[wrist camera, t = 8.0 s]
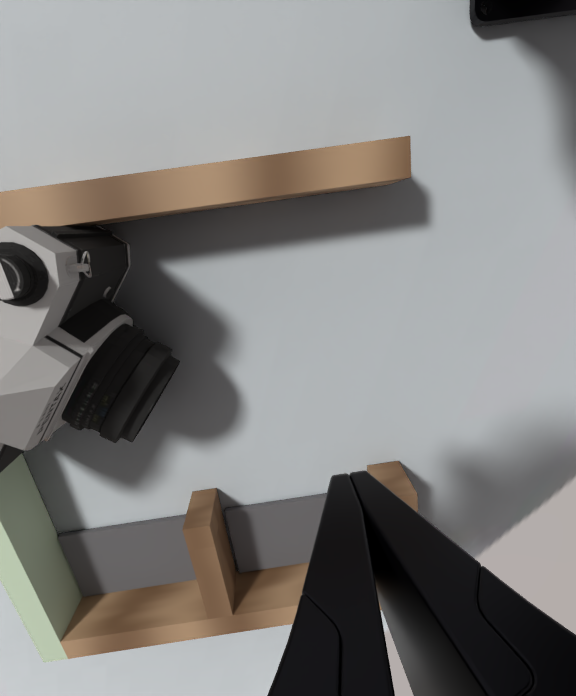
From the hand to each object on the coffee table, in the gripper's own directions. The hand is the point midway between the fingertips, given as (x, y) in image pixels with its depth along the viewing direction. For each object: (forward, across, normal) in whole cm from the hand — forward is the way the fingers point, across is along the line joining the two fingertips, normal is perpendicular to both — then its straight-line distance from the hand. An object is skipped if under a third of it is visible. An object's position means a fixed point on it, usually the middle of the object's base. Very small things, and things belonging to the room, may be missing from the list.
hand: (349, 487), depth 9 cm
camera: (+12, +11, -1) cm, 16 cm away
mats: (+12, +7, +13) cm, 19 cm away
